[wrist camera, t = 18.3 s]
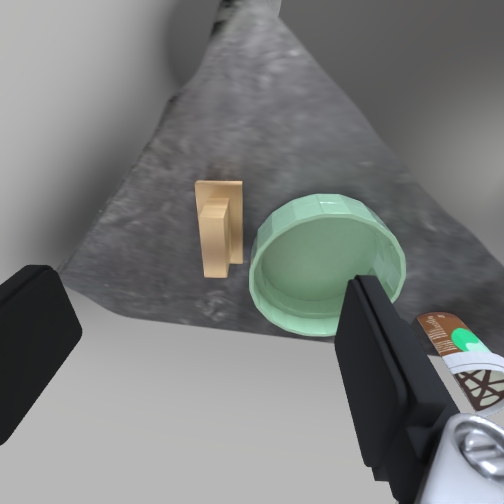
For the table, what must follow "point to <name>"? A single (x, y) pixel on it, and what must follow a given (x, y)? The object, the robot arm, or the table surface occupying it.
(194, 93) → the table surface
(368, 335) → the robot arm
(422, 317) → the food container
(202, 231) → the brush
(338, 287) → the bowl
